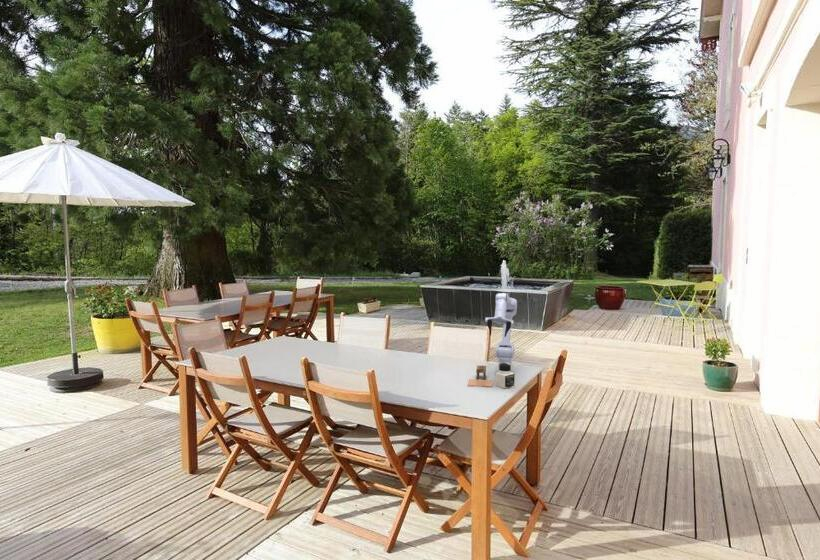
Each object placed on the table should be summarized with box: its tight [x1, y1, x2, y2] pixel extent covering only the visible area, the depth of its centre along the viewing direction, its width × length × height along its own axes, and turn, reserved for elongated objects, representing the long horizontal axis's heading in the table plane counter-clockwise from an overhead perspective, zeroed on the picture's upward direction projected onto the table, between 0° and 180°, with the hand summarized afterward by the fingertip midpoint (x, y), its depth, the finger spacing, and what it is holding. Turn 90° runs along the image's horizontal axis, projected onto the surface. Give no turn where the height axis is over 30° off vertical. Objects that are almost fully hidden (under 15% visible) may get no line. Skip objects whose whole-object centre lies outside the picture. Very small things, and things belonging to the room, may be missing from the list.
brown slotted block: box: [475, 365, 487, 380], centre depth 293 cm, size 5×8×6 cm, turn 170°
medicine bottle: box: [495, 363, 515, 390], centre depth 277 cm, size 7×7×12 cm
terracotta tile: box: [467, 379, 494, 388], centre depth 282 cm, size 11×13×1 cm
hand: (497, 335), depth 272 cm, fingers open, 7 cm apart
